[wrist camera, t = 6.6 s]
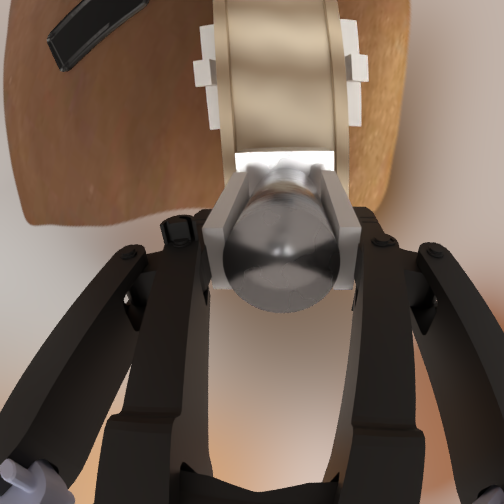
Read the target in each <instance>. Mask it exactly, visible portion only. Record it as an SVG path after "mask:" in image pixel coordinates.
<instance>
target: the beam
mask: <svg viewBox="0 0 504 504" xmlns="http://www.w3.org/2000/svg"><path fill="white" fill-rule="evenodd" d="M213 18H214V39H215V57H216V74H217V90H218V105H219V119H220V133H221V146H222V159H223V171H224V183H225V186H226V185H227V183H228V181H229V180H230V178H231V176H232V175H233V173H234V172H236V159H235V153H237V152H239V151H241V150H243V149H249V148H272V147H327V148H328V149H330V150H332V151H334V171H335V172H336V174H337V176H338V178H339V180H340V182H341V184H342V186H343V188H344V190H345V192H346V194H347V196H348V199H349V118H348V96H347V81H346V68H345V57H344V47H343V39H342V30H341V23H340V16H339V9H338V3H337V0H213Z"/></svg>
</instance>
